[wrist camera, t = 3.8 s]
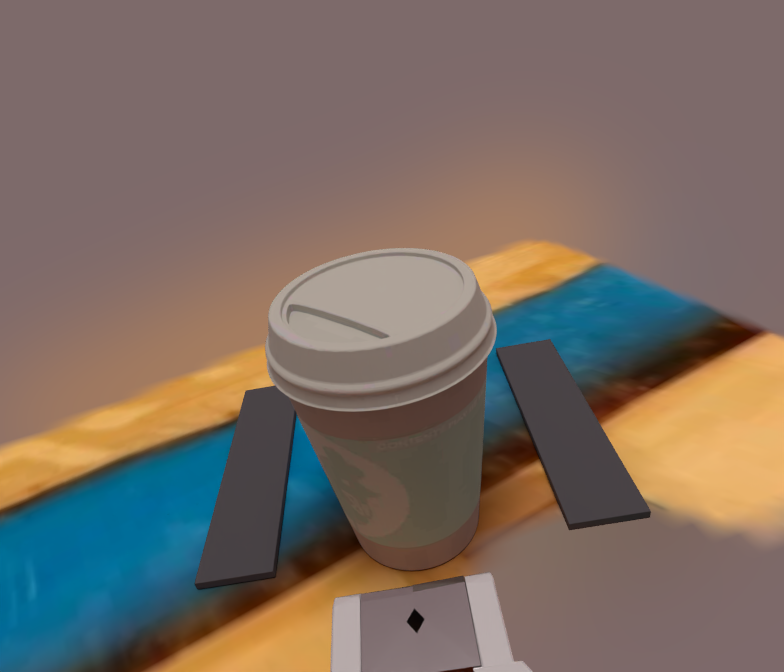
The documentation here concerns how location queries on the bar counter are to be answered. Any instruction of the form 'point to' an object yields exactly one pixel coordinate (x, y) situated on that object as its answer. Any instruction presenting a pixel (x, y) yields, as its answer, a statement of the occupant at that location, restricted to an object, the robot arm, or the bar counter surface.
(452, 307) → the coffee cup
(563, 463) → the gutter strips
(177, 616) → the bar counter surface
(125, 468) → the bar counter surface
